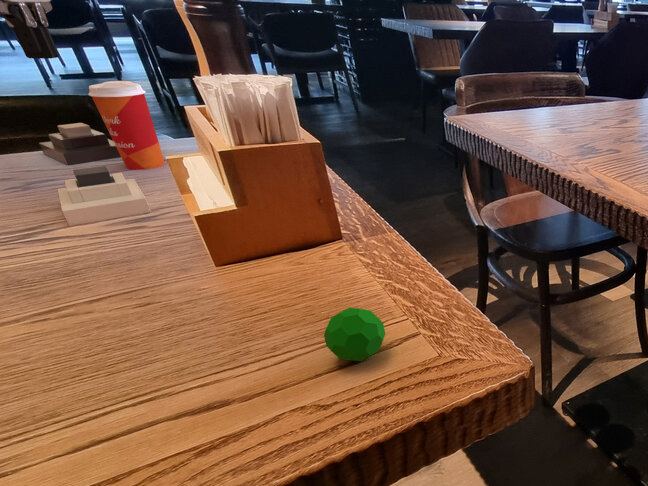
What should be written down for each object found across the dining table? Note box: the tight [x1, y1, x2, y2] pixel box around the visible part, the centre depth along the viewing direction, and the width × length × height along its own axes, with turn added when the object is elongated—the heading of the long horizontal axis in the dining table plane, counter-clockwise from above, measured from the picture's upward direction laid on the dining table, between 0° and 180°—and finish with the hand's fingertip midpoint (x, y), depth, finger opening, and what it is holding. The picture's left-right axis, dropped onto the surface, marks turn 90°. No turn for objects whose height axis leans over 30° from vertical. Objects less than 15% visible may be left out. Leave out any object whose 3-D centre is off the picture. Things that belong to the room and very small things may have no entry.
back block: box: [38, 128, 121, 167], centre depth 100 cm, size 12×9×4 cm
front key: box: [73, 165, 113, 187], centre depth 76 cm, size 4×4×2 cm
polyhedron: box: [323, 307, 386, 362], centre depth 48 cm, size 5×5×5 cm
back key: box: [57, 122, 93, 138], centre depth 98 cm, size 4×4×2 cm
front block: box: [57, 172, 152, 227], centre depth 77 cm, size 12×9×4 cm
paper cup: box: [88, 82, 165, 171], centre depth 93 cm, size 8×8×14 cm
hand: (43, 57), depth 76 cm, fingers closed
